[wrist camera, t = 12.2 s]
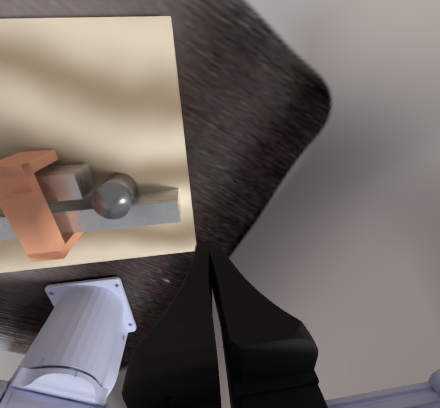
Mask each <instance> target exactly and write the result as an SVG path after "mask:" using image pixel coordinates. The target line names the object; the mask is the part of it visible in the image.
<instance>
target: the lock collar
mask: <svg viewBox="0 0 440 408" xmlns="http://www.w3.org/2000/svg"><path fill="white" fill-rule="evenodd" d="M56 160H58V157H57V154H56V152H55V149H53V150H38V151H23V152H20V153H17V154H14V155H12V156H9V157H7V158H4V159H1V160H0V207H1V209H2V211H3V212H4V214H5V216H6V218H7V219H8V221H9V223H10V225H11V227H12V228H13V230H14V232H15V234H16V236H17V237H18V239H19V241H20V243H21V245H22V246H23V248H24V250H25V252H26V254H27V255H28V257H29V259H30V261H31V262H40V261H49V260H58V259H64V258H65V257H66V256H67V254H68V253H69V251H70V250H71V249H72V247H73V246H74V245H75V243H76V242H77V240H78V239H79V238H80V236H81V235H82V233H83V232H77V233H67V234H61V233H60V231H59V229H58V226H57V224H56V222H55V220H54V217H53V215H52V213H51V211H50V208H49V206H48V204H47V202H46V199H45V197H44V195H43V193H42V190H41V188H40V186H39V184H38V181H37V179H36V177H35V175H34V173H35V172H36V171H38V170H40V169H42V168H44V167H45V166H47V165H49V164H51V163H53V162H54V161H56Z"/></svg>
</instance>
